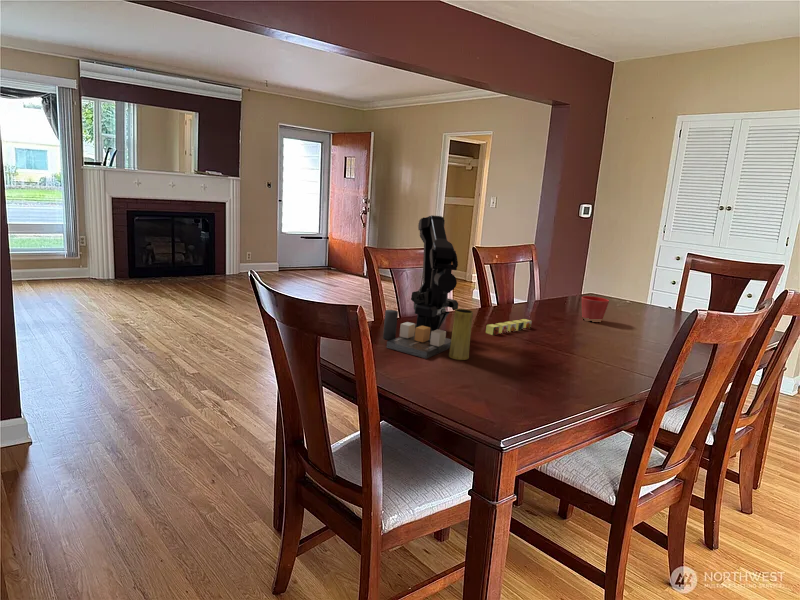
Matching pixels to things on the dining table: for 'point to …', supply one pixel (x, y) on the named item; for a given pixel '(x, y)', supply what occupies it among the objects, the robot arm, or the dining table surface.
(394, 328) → the cable post
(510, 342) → the dining table surface
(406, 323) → the toggle left
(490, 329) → the yellow picture block train
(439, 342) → the toggle right
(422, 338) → the toggle mid
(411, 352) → the breaker panel
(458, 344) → the vase
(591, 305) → the flower pot
